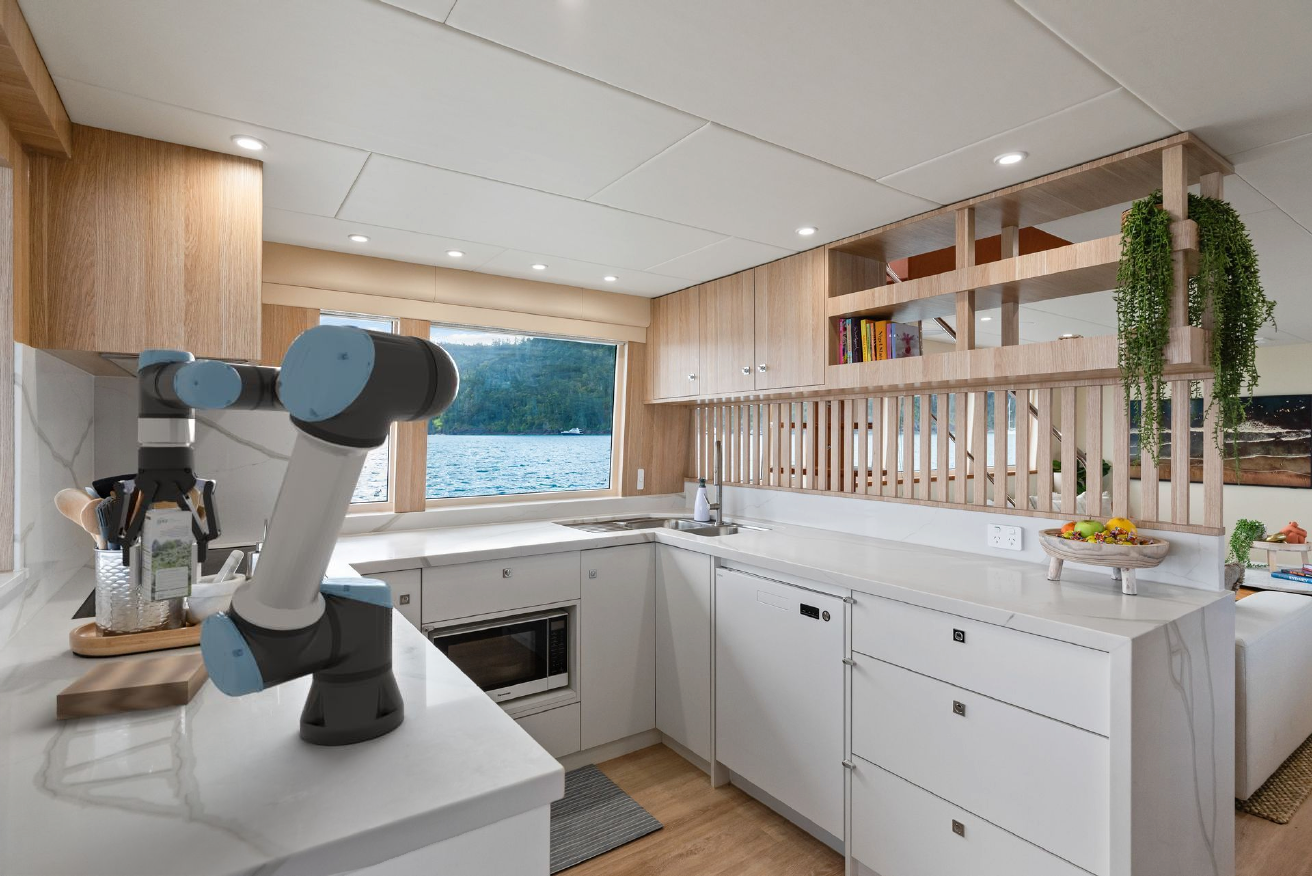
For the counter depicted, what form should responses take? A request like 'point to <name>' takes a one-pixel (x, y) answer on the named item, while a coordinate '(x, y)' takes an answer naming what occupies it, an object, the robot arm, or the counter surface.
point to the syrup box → (166, 554)
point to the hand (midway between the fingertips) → (166, 583)
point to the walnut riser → (133, 686)
